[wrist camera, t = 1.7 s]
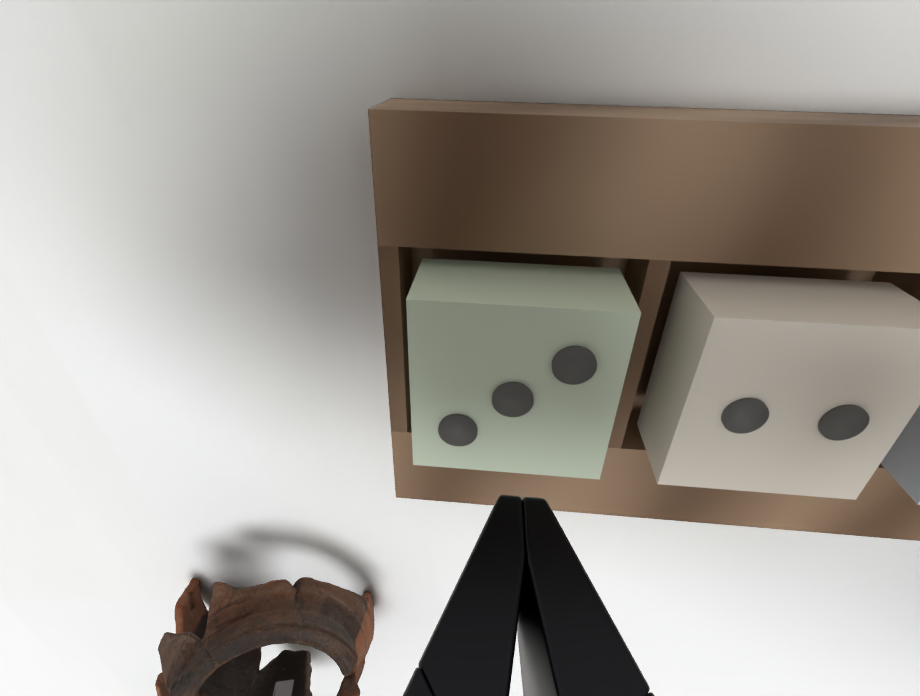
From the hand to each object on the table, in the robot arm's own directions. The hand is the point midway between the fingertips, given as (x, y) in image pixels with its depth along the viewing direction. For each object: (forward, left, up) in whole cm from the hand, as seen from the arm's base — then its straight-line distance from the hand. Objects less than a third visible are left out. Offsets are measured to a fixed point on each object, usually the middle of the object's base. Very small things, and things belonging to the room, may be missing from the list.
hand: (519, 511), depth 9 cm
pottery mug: (+10, +18, -8) cm, 22 cm away
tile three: (0, 0, -6) cm, 6 cm away
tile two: (-6, 0, -6) cm, 9 cm away
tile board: (-6, 0, -8) cm, 10 cm away
